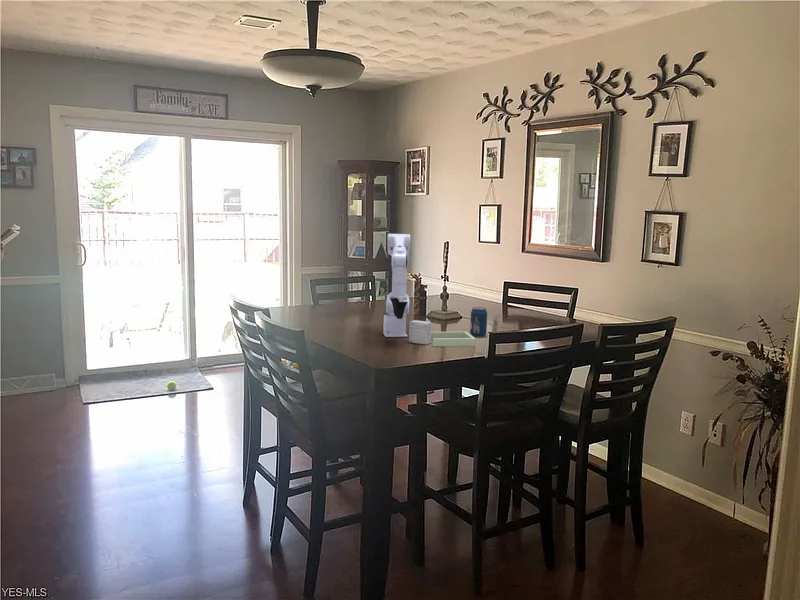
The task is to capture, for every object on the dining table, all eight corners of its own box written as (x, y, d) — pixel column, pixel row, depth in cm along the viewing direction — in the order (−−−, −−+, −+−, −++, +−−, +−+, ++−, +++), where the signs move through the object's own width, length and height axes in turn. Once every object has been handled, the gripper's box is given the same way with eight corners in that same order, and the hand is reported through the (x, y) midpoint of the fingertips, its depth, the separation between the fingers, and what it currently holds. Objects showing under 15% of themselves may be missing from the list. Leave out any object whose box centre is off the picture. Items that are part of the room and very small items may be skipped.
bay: (433, 346, 250) (433, 339, 249) (426, 338, 264) (426, 331, 263) (475, 346, 252) (475, 338, 252) (466, 338, 267) (466, 331, 266)
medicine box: (431, 343, 256) (431, 322, 255) (425, 345, 252) (426, 323, 251) (413, 340, 260) (414, 319, 259) (408, 342, 256) (409, 321, 255)
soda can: (483, 334, 277) (484, 307, 276) (488, 337, 270) (489, 309, 269) (468, 334, 276) (469, 307, 274) (472, 337, 269) (473, 309, 268)
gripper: (386, 281, 258) (386, 314, 260) (391, 285, 243) (391, 320, 245) (403, 281, 259) (403, 314, 261) (410, 285, 245) (409, 320, 246)
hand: (398, 317), depth 253 cm, fingers open, 5 cm apart
